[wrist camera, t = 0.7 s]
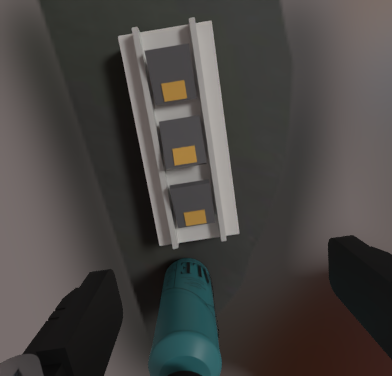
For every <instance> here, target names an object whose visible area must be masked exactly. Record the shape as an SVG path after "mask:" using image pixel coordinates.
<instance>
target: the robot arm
mask: <svg viewBox="0 0 392 376" xmlns="http://www.w3.org/2000/svg"><path fill="white" fill-rule="evenodd" d="M328 258H329V259H328V260H329V280H330V284H331V287H332V289H333V291H334V293H335V294H336V296H337V297H338V298H339V299H340V300H341V301H342V302H343V303H344V305H345V306H346V307H347V308H348V309H349V311H350V312H351V313H352V314H353V315H354V316H355V317H356V319H357V320H358V321H359V322H360V323H361V325H362V326H363V327H364V328H365V329H366V330H367V331H368V332H369V334H370V335H371V336H372V337H373V338H374V340H375V341H376V342H377V343H378V344H379V345H380V346H381V347H382V349H383V350H384V351H385V352H386V353H387V354H388V356H389V357H390V358H391V359H392V255H391V254H390V253H388V252H385V251H382V250H380V249H377V248H374V247H370V246H369V245H367V244H365V243H364V242H363V241H361V240H359V239H358V238H357V237H355V236H353V235H350V236H343V237H336V238H331V239H329V242H328ZM122 319H123V308H122V303H121V299H120V295H119V291H118V286H117V282H116V278H115V274H114V272H113V270H111V269H108V270H101V271H94V272H90V273H89V274H88V276H87V277H86V279H85V280H84V281H83V283H82V284H81V286H80V287H79V288H75V289H74V290H73V291H71V292H70V293H69V294H68V295H67V296H65V297H64V298H63V299H62V301H61V302H60V303H59V305H58V306H57V307H56V309H55V311H54V312H53V313H52V314H51V316H50V317H49V319H48V321H46V322H45V324H44V325H43V327H42V328H41V329H40V331H39V332H38V333H37V335H36V336H35V338H34V339H33V340H32V342H31V343H30V344H29V346H28V347H27V349H26V350H25V351H24V353H23V354H22V355H18V356H15V357H12V358H10V359H8V360H6V361H4V362H2V363H0V376H104V374H105V371H106V368H107V365H108V362H109V359H110V356H111V353H112V350H113V347H114V345H115V341H116V339H117V336H118V333H119V330H120V327H121V324H122Z"/></svg>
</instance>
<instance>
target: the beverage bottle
mask: <svg viewBox="0 0 392 376" xmlns="http://www.w3.org/2000/svg"><path fill="white" fill-rule="evenodd" d="M210 278H211V277H210V275H209V272H208V270H207V267H206V266H204V264H202V263H201V262H199V261H197V260H195V259H191V258H183V259H179V260H177V261H175V262H174V263H172V265H170V267H169V268H168V269H167V271H166V273H165V277H164V283H163V285H162V286H163V289H162V291H161V292H162V295H161V300H160V302H159V303H160V308H159V313H158V318H157V323H156V329H155V334H154V339H153V344H152V350H151V353H150V356H149V362H148V368H149V372H150V376H219V375H220V372H221V366H222V360H221V355H220V352H219V345H218V333H217V327H216V319H215V317H217V316H215V311H216V310H215V311H214V309H215V307H214V305H215V303H214V304H213V297H214V294H213V295H212V289H213V286H212V285H211V282H212V281H210ZM211 287H212V289H211ZM218 330H219V329H218Z"/></svg>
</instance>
